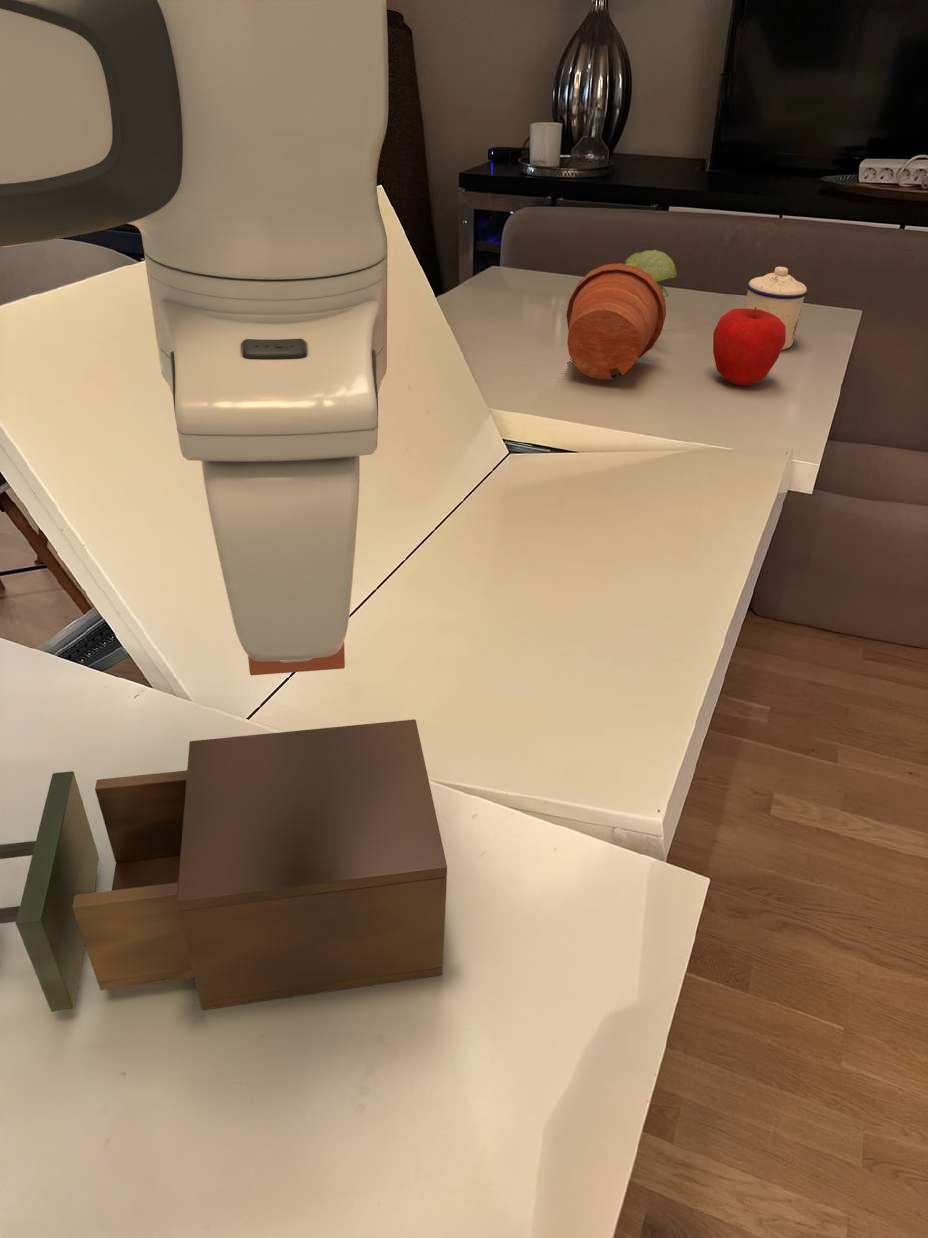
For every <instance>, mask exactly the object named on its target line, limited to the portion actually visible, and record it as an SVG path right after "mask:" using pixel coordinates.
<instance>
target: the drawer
mask: <svg viewBox="0 0 928 1238" xmlns="http://www.w3.org/2000/svg"><path fill="white" fill-rule="evenodd" d="M186 780H187V769H185V770H177V771H168V772H167V771H166V772H160V773H159V772H157V773H147V774H138V775H129V776H127V775H126V776H117V777H110V778H109V777H107V778H99V779H96V781H95V786H94V791H95V795H96V797H97V802H98V806H99V809H100V812H101V816H102V819H103V822H104V826H105V830H106V833H107V837H108V841H109V844H110V848H111V851H112V854H113V858H114V863H115V866H114V872H113V879H112V887H111V890H106V891H97V892H96V891H95V888H96V887H95V886H96V881H97V876H98V870H99V863H100V856H99V852H98V848H97V845H96V843H95V838H94V836H93V832H92V829H91V825H90V822H89V819H88V815H87V812H86V808H85V806H84V801H83V798H82V794H81V791H80V789H79V785H78V781H77V778H76V774H75V772H74V771H73V770H70V771H60V772H53V773H52V774H51V778H50V782H49V786H48V789H47V793H46V794H47V795H46V799H45V802H44V806H43V809H42V815H41V819H40V822H39V827H38V831H37V835H36V839H35V840H29V841H21V842H12V843H5V844H4V843H3V844H0V860H3V859H4V860H5V859H12V858H22V857H29V856H31V860H30V864H29V868H28V871H27V875H26V880H25V884H24V887H23V892H22V895H21V900H20V904H19V905H15V906H7V907H0V925H1V924H9V923H15V925H16V928H17V930H18V933H19V935H20V938H21V940H22V943H23V945H24V948H25V950H26V952H27V955H28V958H29V960H30V963H31V965H32V968H33V970H34V973H35V975H36V978H37V980H38V983H39V985H40V988H41V990H42V993H43V995H44V997H45V1000H46V1003H47V1005H48V1008H49V1009H50V1012H53V1013H54V1012H61V1011H68V1010H73V1009H74V1008H75V1004H76V998H77V992H78V988H79V987H78V985H79V983H80V982H79V981H80V975H81V970H82V969H81V968H82V963H83V958H84V952H85V949H86V952H87V956H88V959H89V961H90V965H91V967H92V971H93V973H94V976H95V979H96V982H97V984H98V987H99V990H100V991H106V990H113V989H120V988H128V987H135V986H142V985H149V984H155V983H156V984H157V983H162V982H170V981H177V980H185V979H191V978H192V979H193V978H194V974H193V970H192V966H191V961H190V957H189V953H188V948H187V944H186V940H185V935H184V931H183V927H182V922H181V918H180V914H179V909H178V905H177V891H178V878H179V866H180V854H181V841H182V829H183V817H184V804H185V792H186Z"/></svg>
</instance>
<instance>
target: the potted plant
mask: <svg viewBox="0 0 928 1238" xmlns="http://www.w3.org/2000/svg"><path fill="white" fill-rule="evenodd" d="M676 277H677V268H676V264H675V262H674V261H673V260H672V258H671V256H669V255H668V254H667V253H665V252H664V251H660V250H657V249H652V250H644V251H641V252H640V251H638V252H634V253H633V254H631V255H630V256H629V257H628V258H627V259H626V260H625V263H622V262H618V263H610V264H604V265H601V266H599V267H597V268H594V269H592V270H590V271H589V272H587V274H586V275H585V276H583V277H582V278H581V279H580V280H578V283H577V284H576V287H575V288H574V290H573V292H572V294H571V296H570V297H569V300H568V304H567V310H566V323H567V330H568V331H567V332H568V333H567V344H566V345H567V351H568V355H569V357H570V359H571V361H572V363H573V365H575V367H576V368H577V369H578V370H579V371H580V372H581V373H583V374H584V375H586V376H588V377H590V378H594V379H598V380H614V378H616V377H618V376H623V375H624V374H626V373H627V372H628V371H629V370H630V369H632V367H633V365H634V364H635V363H636V361H637V360H638V359H640V358H641V357H643V356H644V355H645V354H646V353H648V352H649V351H651V349H652V348H653V347H654V345H655V343H656V342H657V341H658V340H659V338H660V336H661V334H662V331H663V328H664V324H665V321H666V318H667V306H666V298H665V297H669V293H668V291H667V290H666V288H665V287H664V286H662V283H661V281H664V280H668V279H673V278H676Z"/></svg>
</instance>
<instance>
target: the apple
mask: <svg viewBox="0 0 928 1238" xmlns="http://www.w3.org/2000/svg"><path fill="white" fill-rule="evenodd" d="M712 334H713V335H712V341H713V342H712V354H713V358H714V364H715V367H716V368H715V369H716V371H717V372H718V373H719V374H720V375H721V376H722V377H723V378H724V379H725V381H727V382H728V383H730V384H732V385H736V386H743V387H745V386H752V385H755V384H757V383H758V382H761V381H763V380H764V379H765V378H766V377H767V375H768V374H769V372H770V371H771V369H772V368H773V367H774V365H775V364H776V363H777V361H778V359H779V357H780V355H781V353H782V351H783V350H782V349H783V346H784V344H785V340H786V326H785V325H784V324H783V322H782V321H781V320H780V319H779V318H778V317H776V316H775V315H773V314H771V313H769V312H766V311H763V310H758V309H756V307H755V309H745V308H744V307H743V308H733V309H730V310H729V311H727V312H726V313H724V314H723V315H722V316H720V317H719V320H718V322H717V324H716V326H715V328H714V330H713V333H712Z"/></svg>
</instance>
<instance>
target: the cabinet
mask: <svg viewBox="0 0 928 1238" xmlns="http://www.w3.org/2000/svg"><path fill="white" fill-rule="evenodd" d="M188 743H189V745H188V754H187V755H188V756H187V768H186V770H187V780H186V792H185V804H184V817H183V829H182V841H181V854H180V866H179V878H178V891H177V905H178V909H179V914H180V918H181V922H182V927H183V931H184V935H185V940H186V944H187V948H188V953H189V957H190V961H191V966H192V970H193V974H194V977H193V979H194V983H195V986H196V992H197V995H198V1001H199V1003H200V1008H201V1010H208V1009H209V1010H211V1009H215V1008H223V1007H230V1006H238V1005H244V1004H250V1003H251V1004H252V1003H257V1002H264V1001H271V1000H276V999H277V1000H278V999H285V998H291V997H298V996H305V995H306V996H307V995H313V994H320V993H325V992H332V991H339V990H344V989H345V990H346V989H353V988H359V987H366V986H367V987H368V986H372V985H373V986H374V985H381V984H386V983H393V982H400V981H407V980H414V979H423V978H428V977H435V976H441V975H443V972H444V956H445V955H444V954H445V953H444V950H445V934H446V933H445V931H446V930H445V929H446V908H447V907H446V905H447V883H448V882H447V881H448V879H447V878H448V865H447V860H446V855H445V850H444V846H443V841H442V840H443V839H442V836H441V831H440V826H439V821H438V818H437V813H436V808H435V802H434V799H433V793H432V789H431V784H430V779H429V775H428V770H427V766H426V761H425V757H424V751H423V746H422V742H421V737H420V732H419V728H418V723H417V719H415V718H414V719H403V720H394V721H383V722H382V721H381V722H373V723H363V724H353V725H352V724H351V725H343V726H342V725H341V726H332V727H322V728H321V727H319V728H310V729H300V730H291V731H290V730H289V731H281V732H279V731H278V732H270V733H260V734H259V733H258V734H249V735H240V736H239V735H238V736H229V737H219V738H208V739H198V740H197V739H196V740H190V741H189V742H188Z"/></svg>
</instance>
